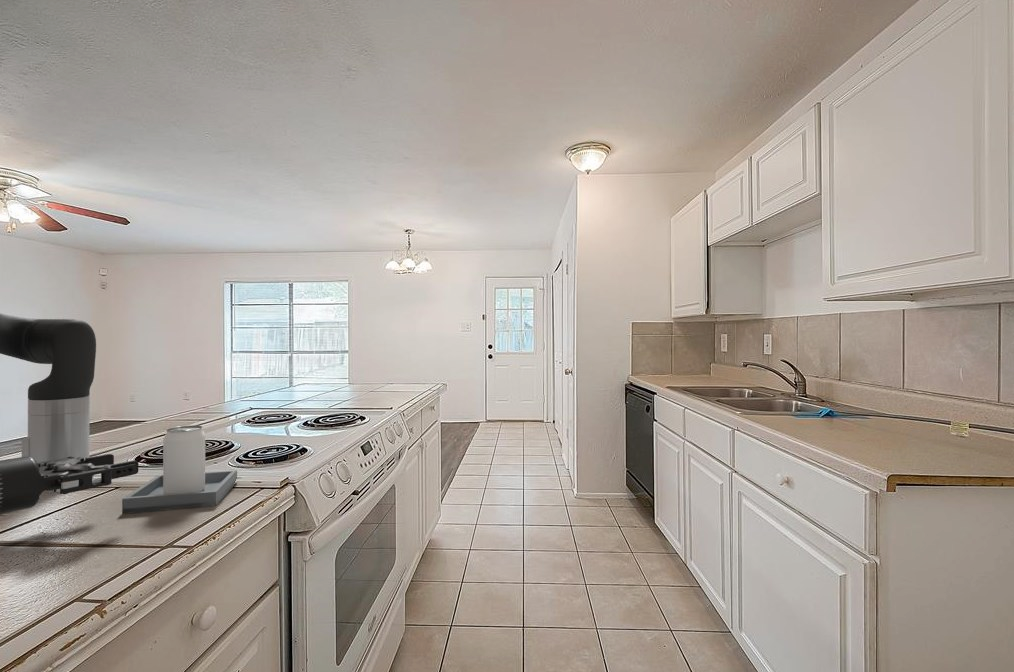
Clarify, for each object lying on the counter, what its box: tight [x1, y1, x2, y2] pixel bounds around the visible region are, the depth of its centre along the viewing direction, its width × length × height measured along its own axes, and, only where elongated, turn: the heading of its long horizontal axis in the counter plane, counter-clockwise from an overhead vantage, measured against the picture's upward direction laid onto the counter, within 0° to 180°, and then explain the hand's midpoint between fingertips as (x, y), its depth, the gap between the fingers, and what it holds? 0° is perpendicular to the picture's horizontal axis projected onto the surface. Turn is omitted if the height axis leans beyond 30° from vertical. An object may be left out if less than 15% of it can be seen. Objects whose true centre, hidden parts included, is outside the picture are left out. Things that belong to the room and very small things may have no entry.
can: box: [162, 425, 206, 494], centre depth 89 cm, size 6×6×12 cm
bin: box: [121, 469, 238, 514], centre depth 89 cm, size 14×14×2 cm
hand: (124, 463), depth 80 cm, fingers open, 8 cm apart
